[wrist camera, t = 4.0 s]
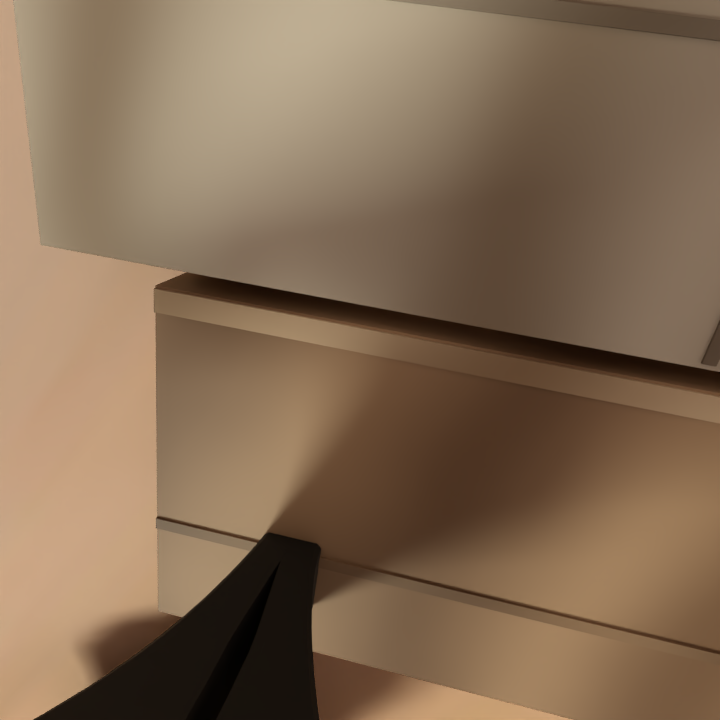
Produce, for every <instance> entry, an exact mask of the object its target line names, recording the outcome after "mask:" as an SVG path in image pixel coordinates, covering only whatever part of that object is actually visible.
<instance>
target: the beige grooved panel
mask: <svg viewBox="0 0 720 720" xmlns="http://www.w3.org/2000/svg"><path fill="white" fill-rule="evenodd" d="M13 4H14V13H15V22H16V31H17V39H18V48H19V57H20V66H21V75H22V84H23V93H24V101H25V110H26V119H27V128H28V137H29V146H30V155H31V163H32V172H33V181H34V190H35V199H36V208H37V217H38V225H39V234H40V243H41V245H44V246H49V247H55V248H60V249H65V250H71V251H76V252H81V253H87V254H92V255H97V256H103V257H108V258H114V259H119V260H124V261H130V262H135V263H140V264H146V265H151V266H156V267H162V268H167V269H172V270H178V271H183V272H188V273H194V274H199V275H204V276H210V277H215V278H220V279H226V280H231V281H237V282H242V283H247V284H253V285H258V286H263V287H269V288H274V289H279V290H285V291H290V292H295V293H301V294H306V295H311V296H317V297H322V298H327V299H333V300H338V301H343V302H349V303H354V304H360V305H365V306H370V307H376V308H381V309H386V310H392V311H397V312H402V313H408V314H413V315H418V316H424V317H429V318H434V319H440V320H445V321H450V322H456V323H461V324H466V325H472V326H477V327H483V328H488V329H493V330H499V331H504V332H509V333H515V334H520V335H525V336H531V337H536V338H541V339H547V340H552V341H557V342H563V343H568V344H573V345H579V346H584V347H589V348H595V349H600V350H606V351H611V352H616V353H622V354H627V355H632V356H638V357H643V358H648V359H654V360H659V361H664V362H670V363H675V364H680V365H686V366H691V367H696V368H702V369H707V370H712V371H718V372H720V0H13Z"/></svg>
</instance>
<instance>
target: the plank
mask: <svg viewBox="0 0 720 720" xmlns="http://www.w3.org/2000/svg"><path fill="white" fill-rule="evenodd" d="M154 312H156V419H157V518H156V528H157V539H158V611H160V612H164V613H167V614H171V615H175V616H179V617H183V616H184V615H186V614H187V613H188V612H189V611H190V610H191V609H192V608H193V607H195V606H196V605H197V604H198V603H199V602H200V601H201V600H202V599H204V598H205V597H206V596H207V595H208V594H209V593H210V592H211V591H212V590H213V589H214V588H215V587H216V586H217V585H218V584H219V583H220V582H221V581H222V580H223V579H224V578H225V577H226V576H227V575H228V574H229V573H230V572H231V571H232V570H233V569H234V568H235V567H236V566H237V565H238V564H239V563H240V562H241V561H242V560H243V559H244V558H245V556H246V555H247V554H248V553H249V552H250V551H251V550H252V549H253V547H254V546H255V545H256V544H257V543H258V542H259V540H260V539H261V538H262V537H263V536H264V535H265V534H267V533H268V532H270V533H274V534H279V535H283V536H287V537H291V538H296V539H300V540H304V541H308V542H312V543H317V544H318V545H319V546H320V548H321V554H320V559H319V566H318V575H317V582H316V589H315V596H314V603H313V608H312V650H313V652H317V653H320V654H324V655H328V656H332V657H336V658H339V659H343V660H347V661H351V662H355V663H359V664H362V665H366V666H370V667H374V668H378V669H382V670H385V671H389V672H393V673H397V674H401V675H405V676H408V677H412V678H416V679H420V680H424V681H427V682H431V683H435V684H439V685H443V686H447V687H450V688H454V689H458V690H462V691H466V692H470V693H473V694H477V695H481V696H485V697H489V698H492V699H496V700H500V701H504V702H508V703H512V704H515V705H519V706H523V707H527V708H531V709H535V710H538V711H542V712H546V713H550V714H554V715H557V716H561V717H565V718H569V719H573V720H720V372H718V371H712V370H707V369H702V368H696V367H691V366H686V365H680V364H675V363H670V362H664V361H659V360H654V359H648V358H643V357H638V356H632V355H627V354H622V353H616V352H611V351H606V350H600V349H595V348H589V347H584V346H579V345H573V344H568V343H563V342H557V341H552V340H547V339H541V338H536V337H531V336H525V335H520V334H515V333H509V332H504V331H499V330H493V329H488V328H483V327H477V326H472V325H466V324H461V323H456V322H450V321H445V320H440V319H434V318H429V317H424V316H418V315H413V314H408V313H402V312H397V311H392V310H386V309H381V308H376V307H370V306H365V305H360V304H354V303H349V302H343V301H338V300H333V299H327V298H322V297H317V296H311V295H306V294H301V293H295V292H290V291H285V290H279V289H274V288H269V287H263V286H258V285H253V284H247V283H242V282H237V281H231V280H226V279H220V278H215V277H210V276H204V275H199V274H194V273H188V272H186V273H184V274H182V275H179V276H177V277H175V278H172V279H170V280H167V281H165V282H163V283H160V284H158V285H156V286H155V288H154Z"/></svg>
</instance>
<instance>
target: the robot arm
mask: <svg viewBox="0 0 720 720" xmlns="http://www.w3.org/2000/svg"><path fill="white" fill-rule="evenodd" d="M320 554H321V548H320V546H319V545H318V544H317V543H312V542H308V541H304V540H300V539H296V538H291V537H287V536H283V535H279V534H274V533H270V532H268V533H267V534H265V535H264V536H263V537H262V538H261V539H260V540H259V542H258V543H257V544H256V545H255V546H254V547H253V549H252V550H251V551H250V552H249V553H248V554H247V555H246V556H245V558H244V559H243V560H242V561H241V562H240V563H239V564H238V565H237V566H236V567H235V568H234V569H233V570H232V571H231V572H230V573H229V574H228V575H227V576H226V577H225V578H224V579H223V580H222V581H221V582H220V583H219V584H218V585H217V586H216V587H215V588H214V589H213V590H212V591H211V592H210V593H209V594H208V595H207V596H206V597H205V598H204V599H202V600H201V601H200V602H199V603H198V604H197V605H196V606H195V607H193V608H192V609H191V610H190V611H189V612H188V613H187V614H186V615H184V616H183V617H182V618H181V619H180V620H179V621H178V622H176V623H175V624H174V625H173V626H172V627H170V628H169V629H168V630H167V631H165V632H164V633H163V634H162V635H160V636H159V637H158V638H157V639H155V640H154V641H153V642H152V643H150V644H149V645H148V646H146V647H145V648H144V649H142V650H141V651H140V652H138V653H137V654H136V655H134V656H133V657H131V658H130V659H129V660H127V661H126V662H124V663H123V664H121V665H120V666H119V667H117V668H116V669H114V670H113V671H111V672H110V673H109V674H107V675H106V676H104V677H103V678H101V679H100V680H98V681H97V682H95V683H93V684H92V685H90V686H89V687H87V688H86V689H84V690H82V691H81V692H79V693H77V694H76V695H74V696H72V697H71V698H69V699H67V700H66V701H64V702H62V703H61V704H59V705H57V706H56V707H54V708H52V709H51V710H49V711H47V712H46V713H44V714H42V715H41V716H39V717H37V718H35V719H34V720H319V715H318V707H317V699H316V689H315V679H314V667H313V650H312V608H313V603H314V596H315V589H316V582H317V575H318V566H319V559H320Z"/></svg>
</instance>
